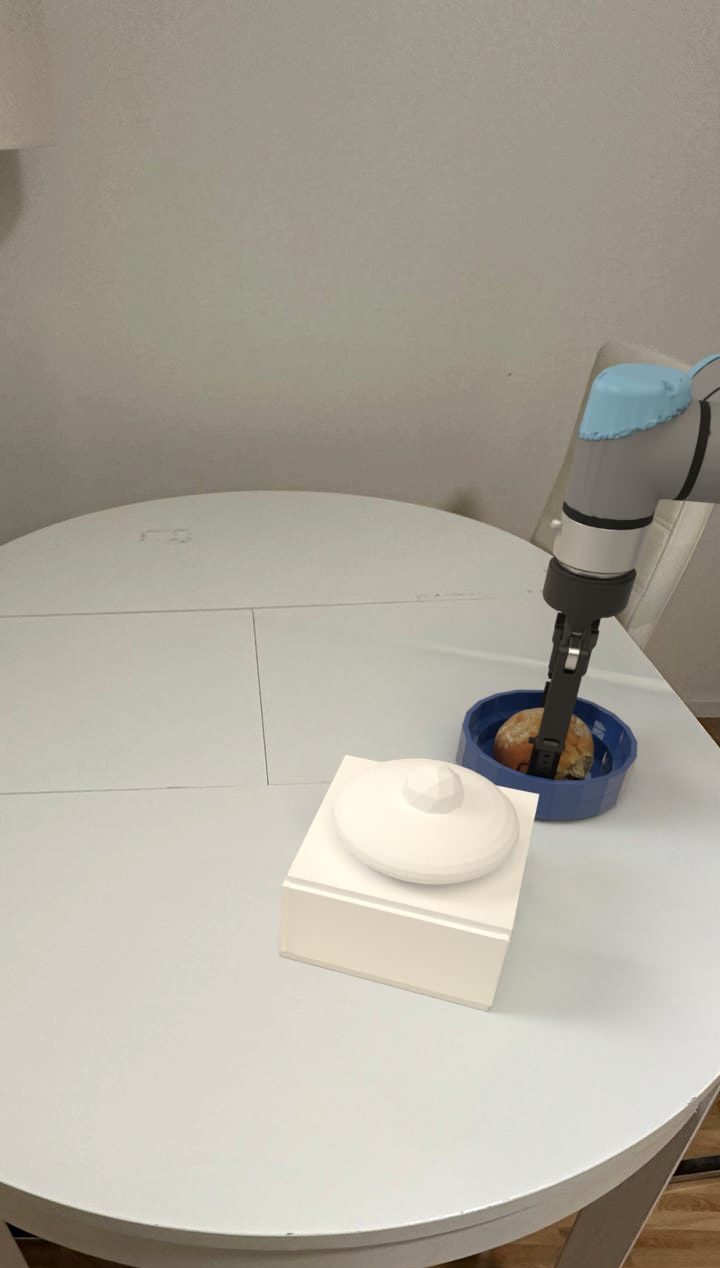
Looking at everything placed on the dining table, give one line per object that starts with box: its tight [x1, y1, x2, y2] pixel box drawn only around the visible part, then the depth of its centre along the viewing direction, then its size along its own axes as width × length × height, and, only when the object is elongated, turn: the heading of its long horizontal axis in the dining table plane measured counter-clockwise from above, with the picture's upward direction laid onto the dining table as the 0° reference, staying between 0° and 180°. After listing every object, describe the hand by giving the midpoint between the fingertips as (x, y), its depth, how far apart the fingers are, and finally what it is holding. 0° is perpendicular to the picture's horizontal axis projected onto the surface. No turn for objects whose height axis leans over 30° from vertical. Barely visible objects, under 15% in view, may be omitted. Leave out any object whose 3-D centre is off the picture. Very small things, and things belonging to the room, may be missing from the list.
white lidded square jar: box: [279, 754, 539, 1012], centre depth 76 cm, size 18×18×16 cm
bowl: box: [455, 689, 639, 821], centre depth 95 cm, size 17×17×5 cm
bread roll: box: [493, 708, 594, 781], centre depth 95 cm, size 10×10×8 cm
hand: (540, 764), depth 96 cm, fingers closed on bread roll, 10 cm apart
